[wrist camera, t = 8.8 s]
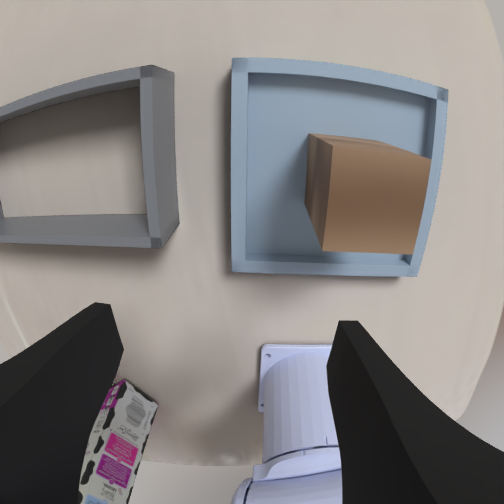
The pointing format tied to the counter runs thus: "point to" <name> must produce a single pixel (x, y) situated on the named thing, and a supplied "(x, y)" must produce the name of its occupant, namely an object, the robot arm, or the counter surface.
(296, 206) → the light blue tray
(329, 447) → the robot arm
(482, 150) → the counter surface
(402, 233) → the walnut block
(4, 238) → the gray rectangular bin
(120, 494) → the candy bar box
